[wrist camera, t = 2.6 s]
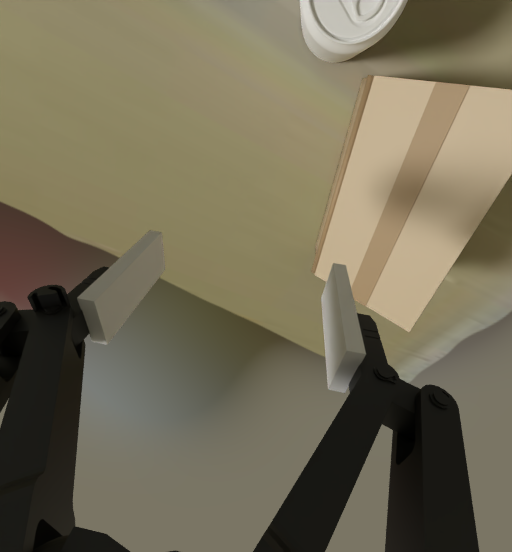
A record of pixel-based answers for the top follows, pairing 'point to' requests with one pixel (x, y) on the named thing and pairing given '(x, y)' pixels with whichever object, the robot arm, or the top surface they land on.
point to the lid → (414, 189)
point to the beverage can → (346, 25)
